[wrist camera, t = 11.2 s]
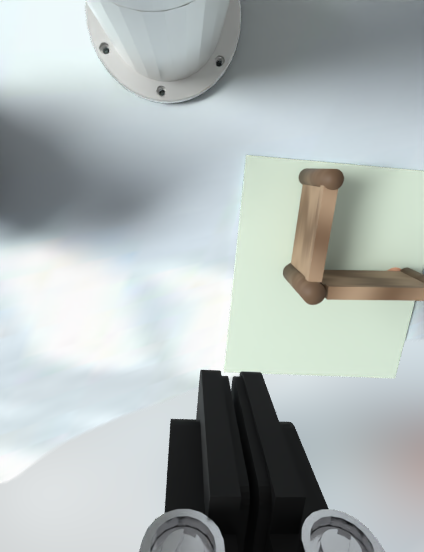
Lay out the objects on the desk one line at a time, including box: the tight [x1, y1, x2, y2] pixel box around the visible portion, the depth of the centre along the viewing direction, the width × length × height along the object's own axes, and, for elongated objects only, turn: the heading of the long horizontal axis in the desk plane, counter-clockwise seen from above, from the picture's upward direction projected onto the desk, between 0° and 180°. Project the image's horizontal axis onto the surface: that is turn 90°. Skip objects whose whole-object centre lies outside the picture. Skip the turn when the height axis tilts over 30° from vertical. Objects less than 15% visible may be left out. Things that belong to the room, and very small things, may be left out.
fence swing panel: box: [319, 268, 424, 301], centre depth 34 cm, size 12×2×8 cm, turn 88°
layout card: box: [224, 155, 424, 378], centre depth 38 cm, size 23×20×1 cm
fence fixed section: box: [283, 168, 344, 305], centre depth 33 cm, size 11×2×7 cm, turn 175°
